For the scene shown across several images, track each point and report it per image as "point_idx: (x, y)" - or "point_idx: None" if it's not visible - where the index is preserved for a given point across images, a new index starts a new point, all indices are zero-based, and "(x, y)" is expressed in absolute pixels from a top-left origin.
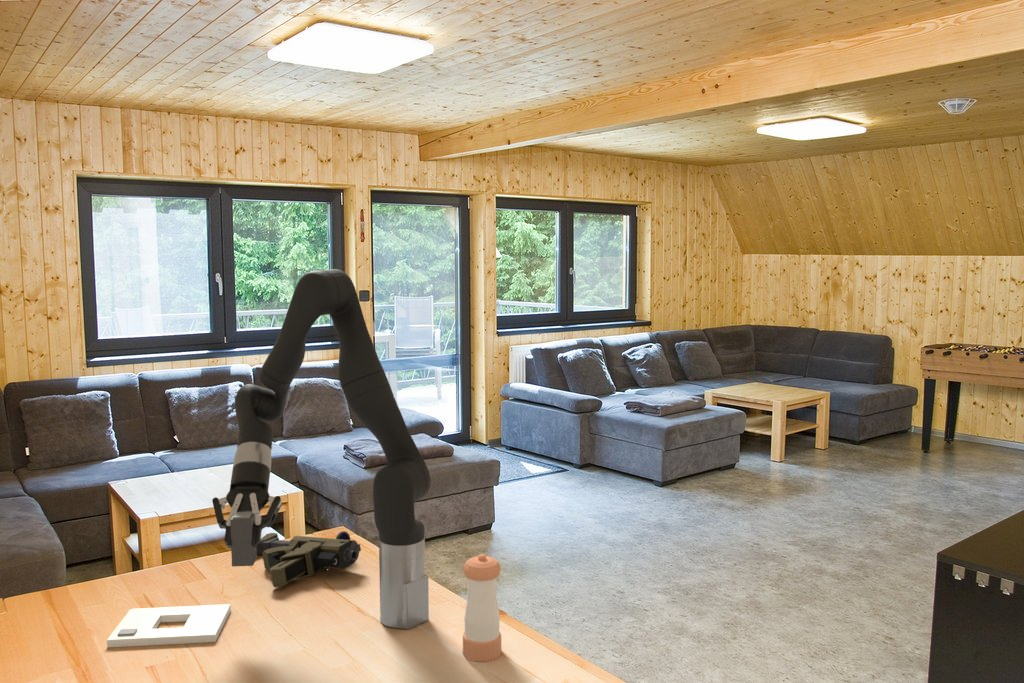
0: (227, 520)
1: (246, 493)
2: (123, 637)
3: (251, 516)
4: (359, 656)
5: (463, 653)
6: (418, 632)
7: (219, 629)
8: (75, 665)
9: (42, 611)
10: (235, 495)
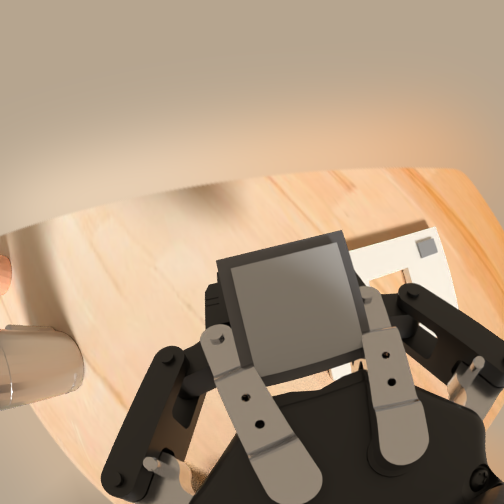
0: (382, 303)
1: (366, 500)
2: (423, 235)
3: (235, 305)
4: (86, 251)
5: (10, 268)
6: (42, 321)
7: None
8: (428, 186)
9: None
10: (437, 450)
